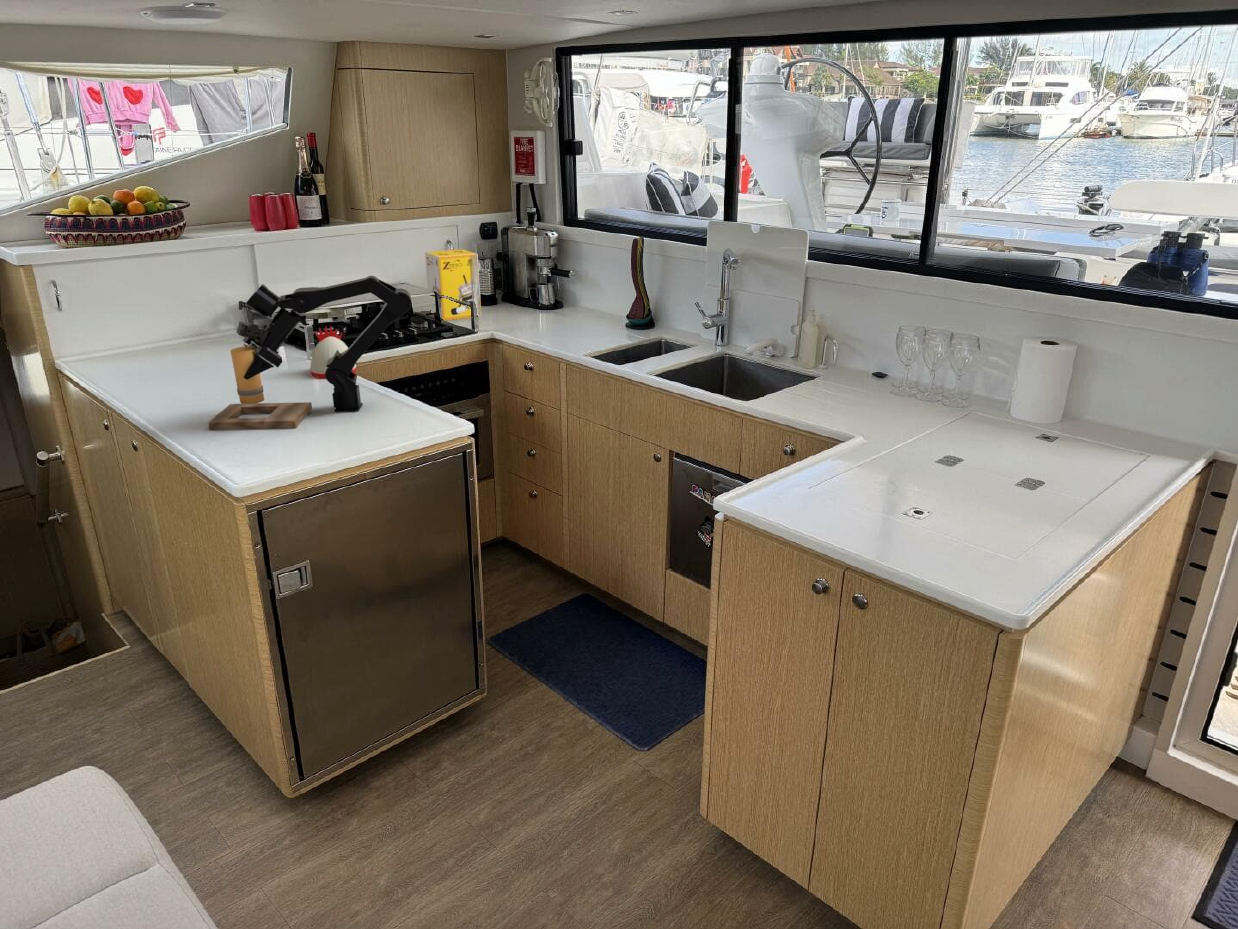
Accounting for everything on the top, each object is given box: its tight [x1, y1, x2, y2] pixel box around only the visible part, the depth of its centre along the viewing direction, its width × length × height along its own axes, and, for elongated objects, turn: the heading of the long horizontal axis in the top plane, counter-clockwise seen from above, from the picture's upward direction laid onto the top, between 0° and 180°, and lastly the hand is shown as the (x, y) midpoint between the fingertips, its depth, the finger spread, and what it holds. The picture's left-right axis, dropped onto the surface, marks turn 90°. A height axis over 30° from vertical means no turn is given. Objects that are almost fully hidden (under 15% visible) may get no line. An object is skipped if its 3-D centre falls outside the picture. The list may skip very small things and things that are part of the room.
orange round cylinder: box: [230, 346, 265, 404], centre depth 229 cm, size 6×6×14 cm
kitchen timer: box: [309, 325, 358, 380], centre depth 274 cm, size 14×14×15 cm
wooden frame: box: [207, 401, 313, 431], centre depth 234 cm, size 22×16×2 cm
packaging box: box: [424, 248, 482, 322], centre depth 354 cm, size 16×16×25 cm
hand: (242, 375), depth 229 cm, fingers closed on orange round cylinder, 6 cm apart
